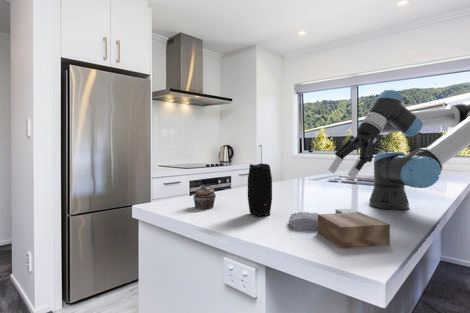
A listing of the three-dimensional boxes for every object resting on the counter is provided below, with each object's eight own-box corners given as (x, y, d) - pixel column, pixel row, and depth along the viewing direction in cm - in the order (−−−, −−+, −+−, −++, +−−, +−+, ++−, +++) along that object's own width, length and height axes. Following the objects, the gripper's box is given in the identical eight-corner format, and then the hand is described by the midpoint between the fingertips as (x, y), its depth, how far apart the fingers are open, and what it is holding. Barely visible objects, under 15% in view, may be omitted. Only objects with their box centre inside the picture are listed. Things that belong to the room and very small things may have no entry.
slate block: (352, 223, 100) (352, 208, 100) (361, 228, 94) (361, 212, 94) (335, 223, 99) (335, 209, 99) (344, 228, 93) (344, 213, 93)
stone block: (291, 235, 93) (322, 230, 91) (287, 220, 93) (319, 215, 91) (290, 226, 104) (318, 222, 103) (288, 213, 105) (316, 208, 103)
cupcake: (196, 204, 131) (196, 182, 131) (217, 205, 130) (217, 183, 129) (190, 209, 122) (190, 185, 121) (213, 210, 120) (212, 186, 120)
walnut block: (359, 231, 92) (359, 212, 92) (389, 246, 78) (390, 224, 78) (317, 233, 90) (317, 214, 89) (341, 249, 76) (341, 227, 75)
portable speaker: (273, 217, 108) (273, 164, 107) (248, 217, 108) (248, 165, 107) (270, 211, 117) (270, 163, 116) (247, 211, 117) (247, 163, 116)
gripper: (345, 122, 120) (317, 164, 119) (387, 119, 96) (352, 173, 95) (358, 132, 122) (330, 174, 121) (403, 132, 97) (368, 185, 96)
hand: (340, 174), depth 108 cm, fingers open, 13 cm apart
